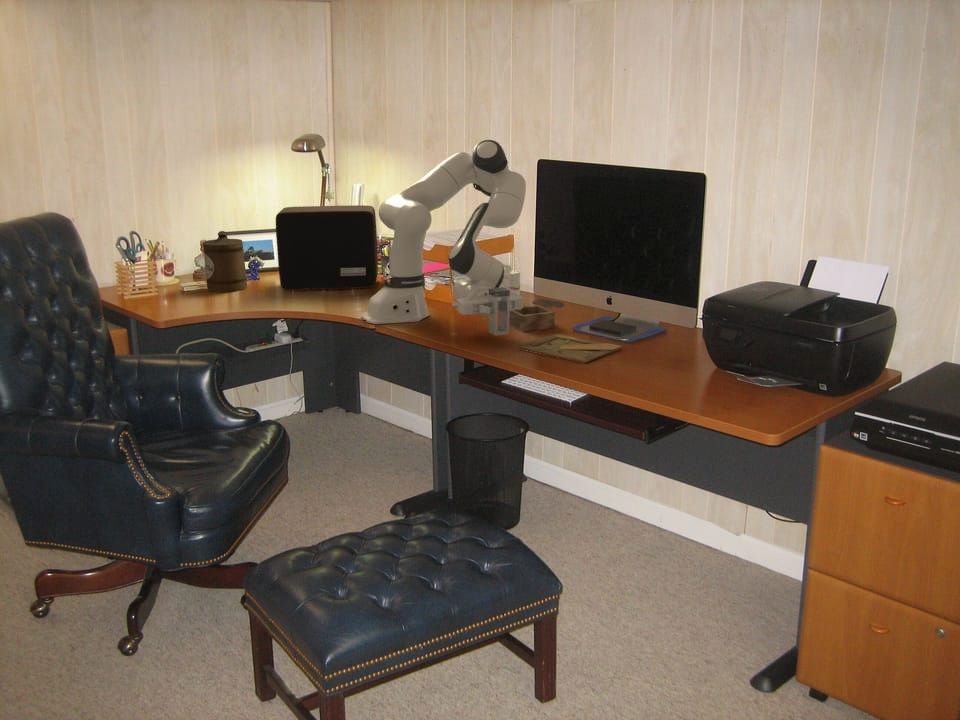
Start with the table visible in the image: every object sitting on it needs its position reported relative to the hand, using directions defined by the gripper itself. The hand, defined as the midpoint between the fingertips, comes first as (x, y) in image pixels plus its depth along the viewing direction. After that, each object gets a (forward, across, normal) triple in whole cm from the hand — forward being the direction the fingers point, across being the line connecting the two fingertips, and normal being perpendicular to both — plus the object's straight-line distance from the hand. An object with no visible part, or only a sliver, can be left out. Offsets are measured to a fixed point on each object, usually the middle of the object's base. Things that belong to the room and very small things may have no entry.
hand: (500, 310), depth 275 cm
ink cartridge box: (-50, +25, +12) cm, 57 cm away
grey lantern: (-1, 0, +7) cm, 7 cm away
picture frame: (+10, +18, +12) cm, 24 cm away
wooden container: (-121, -60, +13) cm, 136 cm away
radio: (-108, -23, +12) cm, 111 cm away
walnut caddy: (-20, +20, +11) cm, 30 cm away
